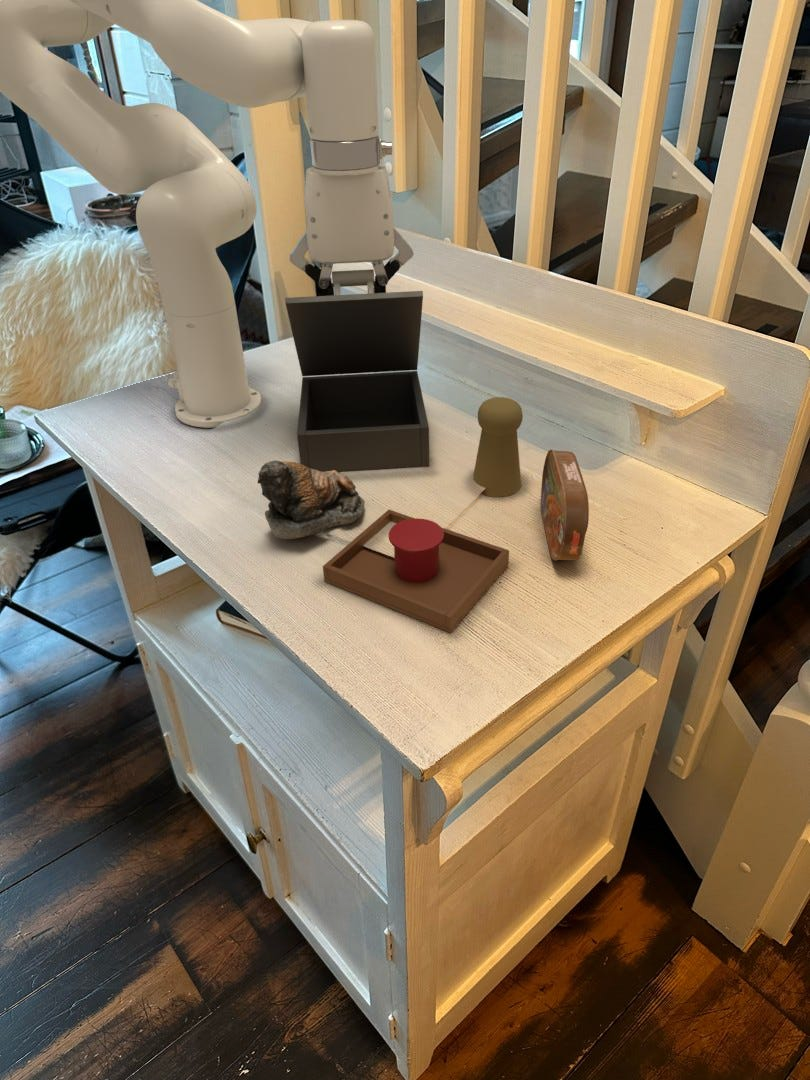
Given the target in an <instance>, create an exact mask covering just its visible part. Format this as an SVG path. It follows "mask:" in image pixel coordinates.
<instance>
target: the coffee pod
mask: <svg viewBox="0 0 810 1080" xmlns="http://www.w3.org/2000/svg"><path fill="white" fill-rule="evenodd" d="M441 527H442V526H441V525H439V523H437V522H435V521H433V520H429V519H426V518H416V517H415V519H407V520H403V521H401V522H399V523H395V524H394V525H393V526H392V527H391V528H390V530H389V531H388V541H389V542H390V544H391V545H392V546H393V553H394V558H395V571H396V574H397V575H398V576H399V577H400V578H401V579H403V580H405V581H409V582H425V581H428V580H430V579H432V578H434V577H435V576H436V575H437V573H438V571H439V545H440V544H441V543H442V541H443V539H444V532H443V529H442V528H443V527H442V528H441Z"/></svg>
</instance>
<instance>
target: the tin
mask: <svg viewBox="0 0 810 1080" xmlns="http://www.w3.org/2000/svg"><path fill="white" fill-rule="evenodd" d="M541 475H542V476H541V489H540V510H541V518H542V522H543V527H544V531H545V537H546V541H547V546H548V550H549V554H550V558H551V559H552V561H558V560H560V561H577V560H578V559H580V558H581V557H582V555H583V547H584V543H585V540H586V539H585V538H586V534H587V532H588V528H589V520H590V519H589V518H590V517H589V515H590V513H589V512H590V506H589V505H590V504H589V496H588V495H589V494H588V491H587V488H586V484H585V481H584V478H583V474H582V472H581V469H580V465H579V463H578V459H577V457H576V455H575V453H574V452H572V451H567V450H554V449H549V450H548V451H547V453H546V456H545V459H544V463H543V469H542V474H541Z"/></svg>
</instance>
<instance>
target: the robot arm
mask: <svg viewBox="0 0 810 1080" xmlns="http://www.w3.org/2000/svg"><path fill="white" fill-rule="evenodd" d="M114 25H116V26H117V27H120V28H121V29H123V30H125V31H126V32H129V33H130V34H132V35H134V36H136V37H138V38H140V39H141V40H143V41H145V42H147V43H149V44H150V45H151V47H152V48H153V50H154V52H155V54H156V55H157V57H158V58H159V59H160V60H161V61H162V63H163V64H164V65H165V66H166V68H168V69H169V70H170V71H171V72H172V73H173V74H174V75H176V76H177V77H179V78H180V79H181V80H183V81H185V82H186V83H188V84H190V85H192V86H193V87H195V88H198V89H199V90H201V91H203V92H205V93H207V94H208V95H211V96H213V97H214V98H217V99H218V100H221V101H223V102H225V103H227V104H230V105H233V106H236V107H240V108H247V109H255V108H261V107H264V106H268V105H272V104H277V103H281V102H282V103H283V102H287V101H291V100H295V99H300V98H305V99H306V109H307V111H306V112H307V121H308V122H307V123H308V132H309V143H310V153H311V154H310V155H311V166H310V167H308V168H306V171H305V181H304V182H305V184H304V205H305V209H304V210H305V227H306V228H305V229H306V230H305V232H304V233H303V235H302V236H301V237H300V239H299V241H298V242H297V244H296V245H295V247H294V248H293V250H292V251H291V253H290V255H289V262H290V263H291V264H292V265H293V266H295V267H296V268H298V269H299V270H300V271H302V272H304V273H305V274H306V275H307V276H308V277H309V278H310V279H311V280H312V281H314V282H315V283H316V284H317V285H318V287H319V288H320V289H321V296H332V295H335V294H334V287H333V282H332V271H333V267H334V264H335V265H336V264H357V263H358V264H359V263H371V265H372V268H373V270H374V285H373V288H374V293H387V285H388V284H389V281H390V280H391V279H392V278H393V277H394V276H395V275H396V274H397V272H398V271H399V270H400V268H401V267H403V266H404V265H406V263H408V262H409V261H410V260H411V259H412V258H413V256H414V250H413V248H412V247H411V246H410V244H409V243H408V241H406V240H405V238H404V237H403V236H402V235H401V234H400V232H399V231H398V230H397V229H396V227H394V226H395V225H394V215H393V205H392V196H391V188H390V180H389V176H388V171H387V167H386V165H385V164H382V163H381V160H383V158H386V156H393V142H392V141H386V140H382V138H380V137H379V112H378V111H379V110H378V88H377V87H378V86H377V63H376V41H375V34H374V31H373V29H372V26H370V24H369V23H367V22H365V21H363V20H360V19H359V20H358V19H331V20H317V21H309V20H304V19H299V18H293V17H292V18H291V17H277V18H259V19H247V20H241V19H240V20H239V19H236V18H233V17H231V16H228V15H227V14H224V13H223V12H220V11H219V10H217V9H215V8H212V7H210V6H209V5H207V4H205V3H203V2H201V1H199V0H0V93H1V94H2V95H4V97H6V98H7V99H8V100H9V101H10V102H11V103H13V105H15V106H17V107H18V108H20V110H22V111H23V112H24V113H25V114H26V115H28V117H30V118H31V119H32V120H34V122H36V123H37V124H38V125H39V126H40V127H41V128H42V129H43V130H44V131H46V133H47V134H48V135H49V136H50V137H51V138H52V139H53V140H54V141H55V142H56V143H57V144H58V145H59V146H60V147H61V148H62V149H63V150H65V152H66V153H68V155H70V156H71V157H72V158H73V159H74V160H75V161H76V162H77V163H78V164H79V165H80V166H81V167H82V168H83V169H84V170H85V171H86V172H87V173H88V174H89V175H90V176H92V178H93V179H95V180H96V181H97V182H98V183H99V184H100V185H101V186H102V187H104V188H105V189H106V190H108V191H109V192H111V193H113V194H116V195H121V196H122V195H123V196H125V195H132V194H137V193H140V192H143V193H142V194H141V195H140V197H139V199H138V201H137V203H136V208H135V223H136V226H137V230H138V233H139V236H140V239H141V241H142V243H143V246H144V248H145V251H146V253H147V255H148V257H149V261H150V262H151V266H152V268H153V272H154V275H155V278H156V283H157V286H158V289H159V293H160V299H161V303H162V308H163V310H164V316H165V320H166V325H167V330H168V333H169V338H170V344H171V347H172V352H173V357H174V361H175V366H176V369H175V371H174V372H173V378H170V379H168V381H167V386H168V387H169V389H170V388H171V389H173V390H177V391H178V396H179V399H178V400H177V401H176V403H175V405H174V411H175V416H176V418H177V420H179V421H180V422H182V423H183V424H185V425H188V426H192V427H196V428H205V429H207V428H216V427H219V426H220V425H222V424H223V423H225V422H230V421H233V420H237V419H240V418H243V417H245V416H247V415H249V414H252V412H254V411H255V410H257V409H258V408H259V406H260V405H261V403H262V401H263V399H262V395H261V394H260V392H259V391H258V390H256V389H255V388H252V387H250V386H249V379H248V373H247V369H246V361H245V355H244V349H243V342H242V336H241V330H240V324H239V319H238V313H237V306H236V299H235V294H234V288H233V285H232V281H231V279H230V276H229V273H228V272H227V270H226V268H225V266H224V265H223V264H222V261H221V260H220V258H219V256H218V254H217V250H216V249H217V248H219V247H220V246H223V245H225V244H227V243H229V242H231V241H233V240H236V239H237V238H239V237H241V236H243V235H244V234H246V232H248V231H249V230H250V229H251V227H252V226H253V224H254V222H255V220H256V217H257V199H256V197H255V194H254V191H253V188H252V187H251V184H250V182H249V181H248V180H247V177H245V176H244V173H242V172H241V170H239V168H238V167H237V166H236V165H235V164H234V163H233V162H232V161H231V160H230V159H229V158H228V157H227V156H226V155H224V153H223V152H222V151H221V150H220V149H219V148H218V147H217V146H216V145H215V144H214V143H213V142H212V141H211V140H210V139H209V138H208V137H207V136H206V135H205V134H204V133H203V132H202V131H201V130H200V129H199V128H198V127H197V126H196V125H195V124H194V123H193V122H192V121H190V119H188V117H187V116H185V115H184V114H183V113H182V112H180V111H178V110H177V109H175V108H173V107H171V106H168V105H166V104H163V103H157V102H146V103H140V104H135V105H123V104H120V103H118V102H116V101H115V100H113V99H112V98H111V97H110V96H109V95H108V94H106V93H105V91H103V90H102V89H101V88H100V87H99V86H98V85H97V84H96V83H95V82H94V81H93V80H92V79H91V78H90V77H89V76H88V75H87V74H85V73H84V72H83V71H82V70H81V69H79V68H78V67H77V66H75V65H73V64H72V63H71V62H68V61H67V60H65V59H63V58H62V57H60V56H58V55H56V54H55V53H53V52H52V51H50V50H48V49H47V48H53V47H54V48H55V47H64V46H65V47H66V46H74V45H81V44H83V43H86V42H89V41H91V40H93V39H95V38H97V37H98V36H99V35H101V34H102V33H104V32H105V31H107V30H109V29H110V28H111V27H113V26H114ZM395 248H396V249H397V250H398V251H397V253H396V254H395V255H394V252H395V251H394V250H395ZM307 252H308V255H309V258H310V259H311V260H309V259H308V258H307V257H306V256H305V255H306V253H307ZM393 255H394V256H393ZM386 260H388V261H387V263H385V264H384V261H386ZM315 263H316V264H320V267H319V266H318V265H316V264H315Z"/></svg>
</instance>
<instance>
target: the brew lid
mask: <svg viewBox="0 0 810 1080" xmlns="http://www.w3.org/2000/svg"><path fill="white" fill-rule="evenodd" d="M331 281H332V283H333V287H334V295H332V296H322V295H318V296H315V295H314V296H295V297H294V296H293V297H285V299H284V301H285V302H284V303H285V307H286V311H287V315H288V321H289V325H290V330H291V333H292V338H293V343H294V346H295V351H296V355H297V359H298V360H297V361H298V365H299V370H300V373H301V377H315V376H333V375H351V374H368V373H386V372H404V371H418V366H419V354H420V353H419V351H420V343H421V342H420V341H421V340H420V339H421V328H422V327H421V326H422V317H423V315H422V313H423V303H424V300H423V299H424V291H423V290H412V291H392V292H386V293H374V281H375V271H374V268H373V269H371V268H369V269H354V270H352V269H351V270H335V271H334V270H332V272H331ZM364 286H366V287H367V293H352V294H341V288H343V287H345V288H346V287H364Z"/></svg>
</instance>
